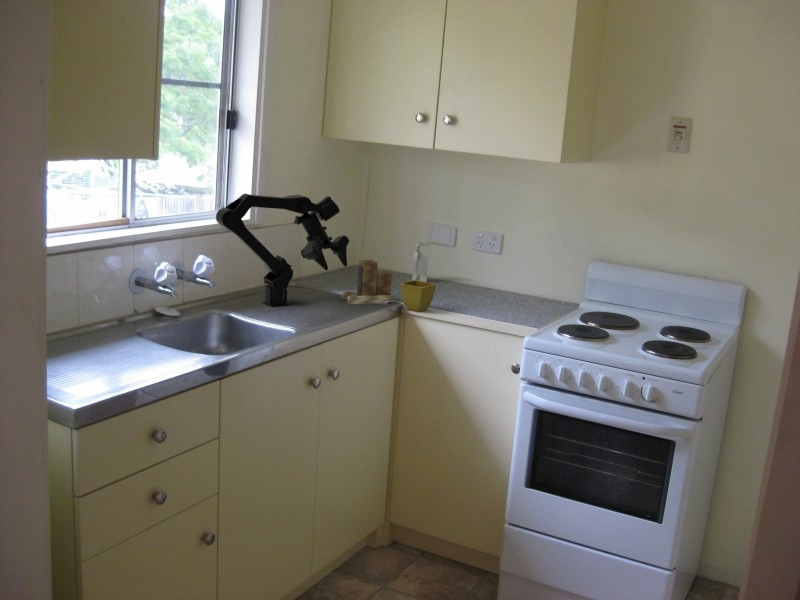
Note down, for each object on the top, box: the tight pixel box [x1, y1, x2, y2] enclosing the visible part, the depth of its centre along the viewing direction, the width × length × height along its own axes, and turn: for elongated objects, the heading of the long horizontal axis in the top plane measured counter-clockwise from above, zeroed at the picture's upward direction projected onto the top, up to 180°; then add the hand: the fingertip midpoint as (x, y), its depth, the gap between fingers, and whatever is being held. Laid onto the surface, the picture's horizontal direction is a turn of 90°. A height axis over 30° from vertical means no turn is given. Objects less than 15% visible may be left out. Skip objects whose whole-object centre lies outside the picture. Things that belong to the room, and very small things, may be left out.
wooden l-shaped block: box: [341, 270, 395, 305], centre depth 307 cm, size 16×9×10 cm, turn 108°
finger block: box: [356, 259, 379, 296], centre depth 306 cm, size 5×5×14 cm
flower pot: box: [400, 279, 437, 313], centre depth 298 cm, size 9×9×9 cm
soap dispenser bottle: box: [410, 241, 431, 282], centre depth 342 cm, size 7×7×15 cm
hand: (336, 267), depth 303 cm, fingers open, 9 cm apart
